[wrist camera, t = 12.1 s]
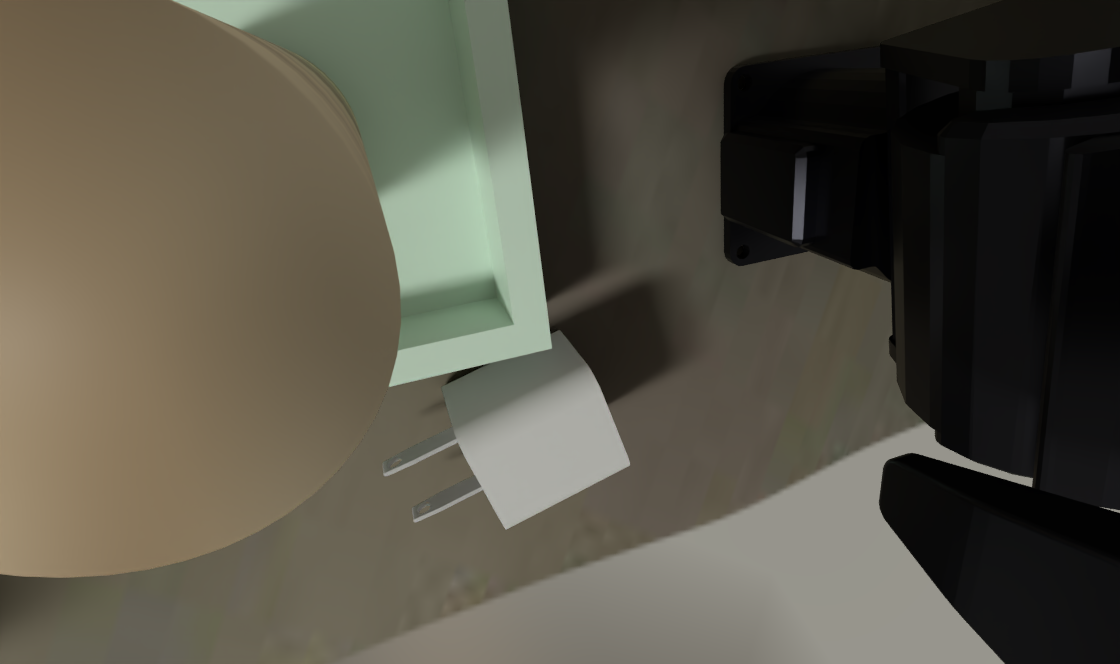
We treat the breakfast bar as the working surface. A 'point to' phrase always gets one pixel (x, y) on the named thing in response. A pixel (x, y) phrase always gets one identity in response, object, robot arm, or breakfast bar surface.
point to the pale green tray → (432, 162)
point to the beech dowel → (176, 285)
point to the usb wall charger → (524, 434)
